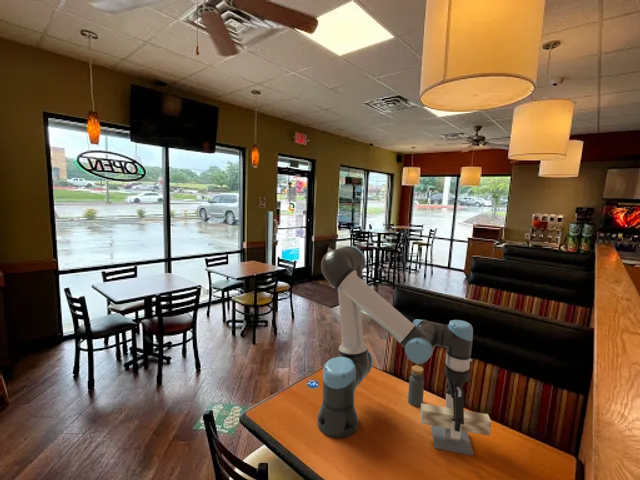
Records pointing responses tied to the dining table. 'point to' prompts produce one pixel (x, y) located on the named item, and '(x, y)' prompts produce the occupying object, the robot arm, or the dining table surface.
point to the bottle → (416, 386)
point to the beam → (443, 417)
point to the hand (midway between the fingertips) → (452, 424)
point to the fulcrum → (451, 441)
